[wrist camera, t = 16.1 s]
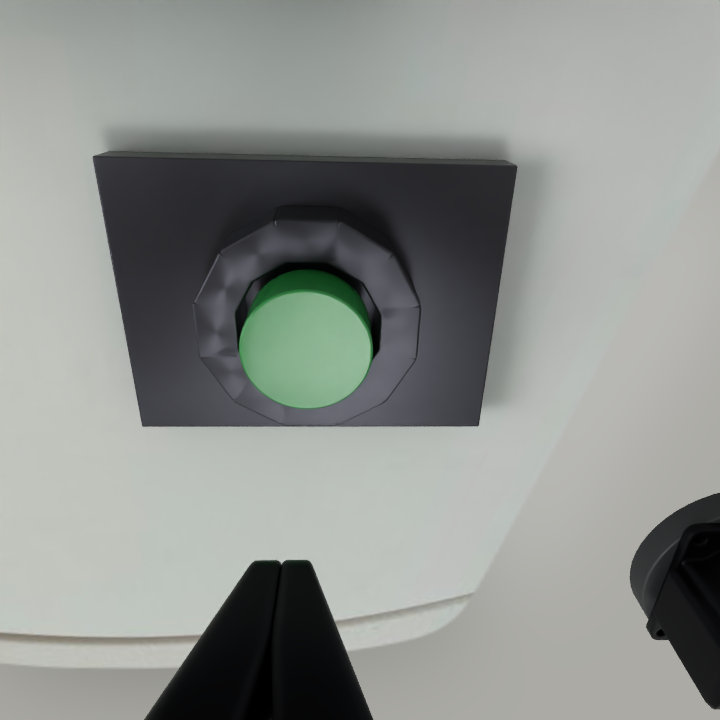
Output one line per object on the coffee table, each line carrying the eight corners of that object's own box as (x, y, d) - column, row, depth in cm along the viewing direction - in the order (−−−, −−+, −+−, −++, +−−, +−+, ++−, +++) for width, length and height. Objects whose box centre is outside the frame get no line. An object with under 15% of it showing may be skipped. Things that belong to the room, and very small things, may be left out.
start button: (371, 269, 15) (376, 290, 14) (367, 380, 17) (370, 410, 16) (243, 267, 15) (233, 288, 14) (252, 379, 17) (243, 410, 15)
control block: (506, 160, 17) (538, 174, 14) (471, 409, 21) (491, 457, 18) (107, 151, 16) (62, 164, 14) (152, 408, 20) (124, 458, 18)
